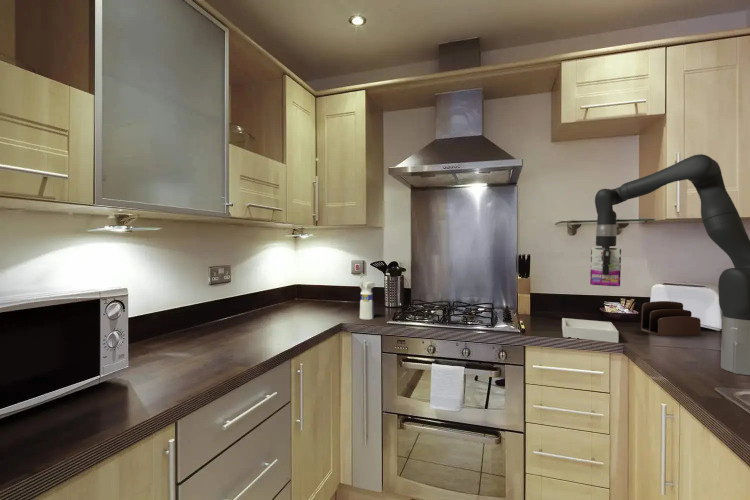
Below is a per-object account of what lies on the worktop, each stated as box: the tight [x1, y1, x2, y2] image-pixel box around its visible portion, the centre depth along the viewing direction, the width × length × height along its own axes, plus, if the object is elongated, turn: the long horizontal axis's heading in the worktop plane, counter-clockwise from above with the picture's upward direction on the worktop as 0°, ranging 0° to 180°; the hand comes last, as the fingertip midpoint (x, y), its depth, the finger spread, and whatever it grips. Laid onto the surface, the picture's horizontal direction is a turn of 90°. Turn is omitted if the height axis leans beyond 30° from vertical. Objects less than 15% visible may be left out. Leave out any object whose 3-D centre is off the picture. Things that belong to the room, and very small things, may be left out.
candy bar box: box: [589, 247, 622, 287], centre depth 158 cm, size 11×5×16 cm, turn 61°
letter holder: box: [640, 300, 702, 337], centre depth 165 cm, size 10×20×14 cm, turn 93°
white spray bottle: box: [359, 272, 376, 320], centre depth 194 cm, size 8×9×25 cm
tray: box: [561, 317, 619, 344], centre depth 161 cm, size 20×20×4 cm
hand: (604, 273), depth 158 cm, fingers closed on candy bar box, 5 cm apart
